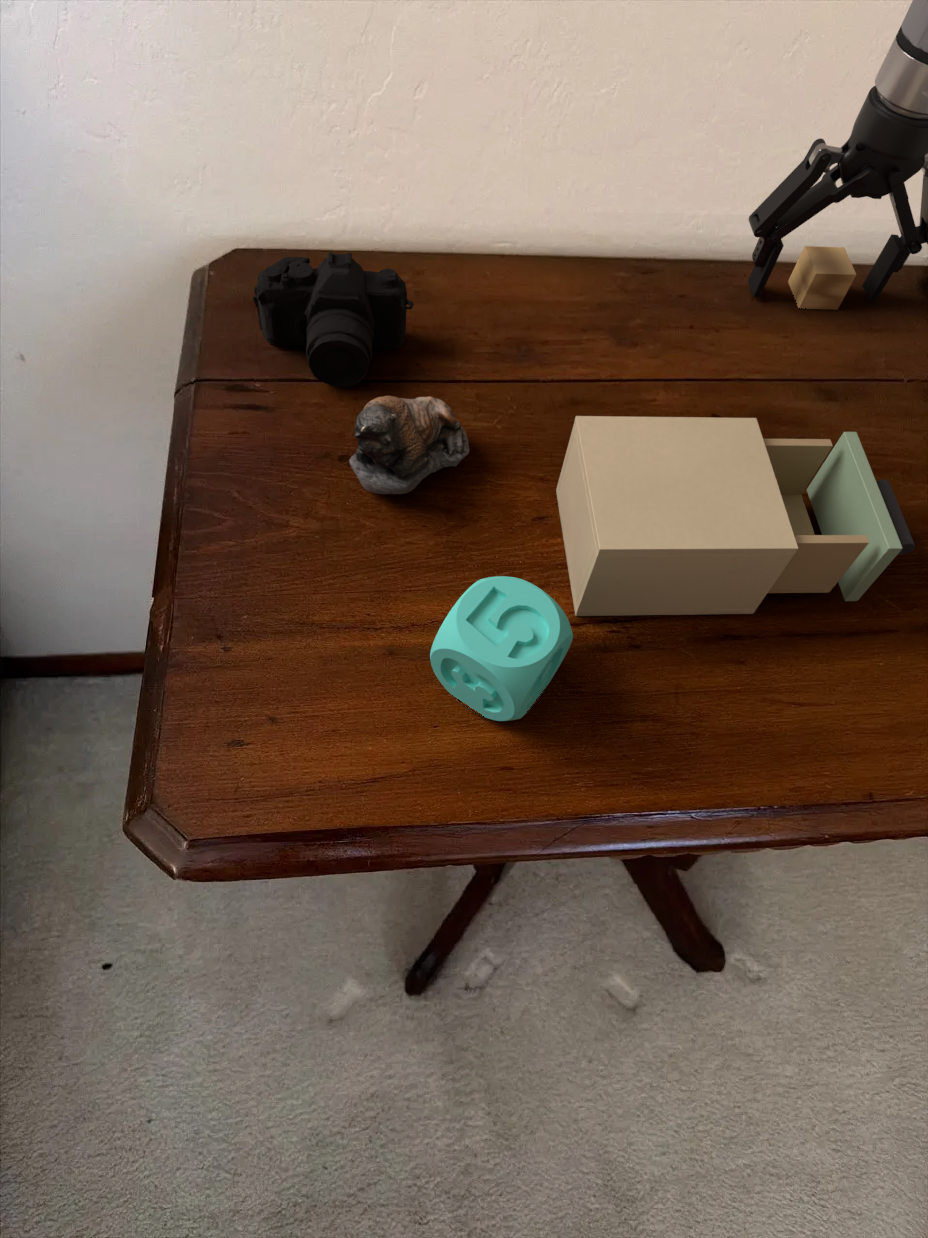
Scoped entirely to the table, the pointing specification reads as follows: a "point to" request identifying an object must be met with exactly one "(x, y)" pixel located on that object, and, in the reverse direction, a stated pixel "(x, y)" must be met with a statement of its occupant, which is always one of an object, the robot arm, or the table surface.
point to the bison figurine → (405, 442)
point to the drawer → (836, 516)
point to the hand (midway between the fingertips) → (811, 291)
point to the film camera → (332, 313)
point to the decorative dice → (501, 646)
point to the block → (821, 277)
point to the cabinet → (671, 516)
